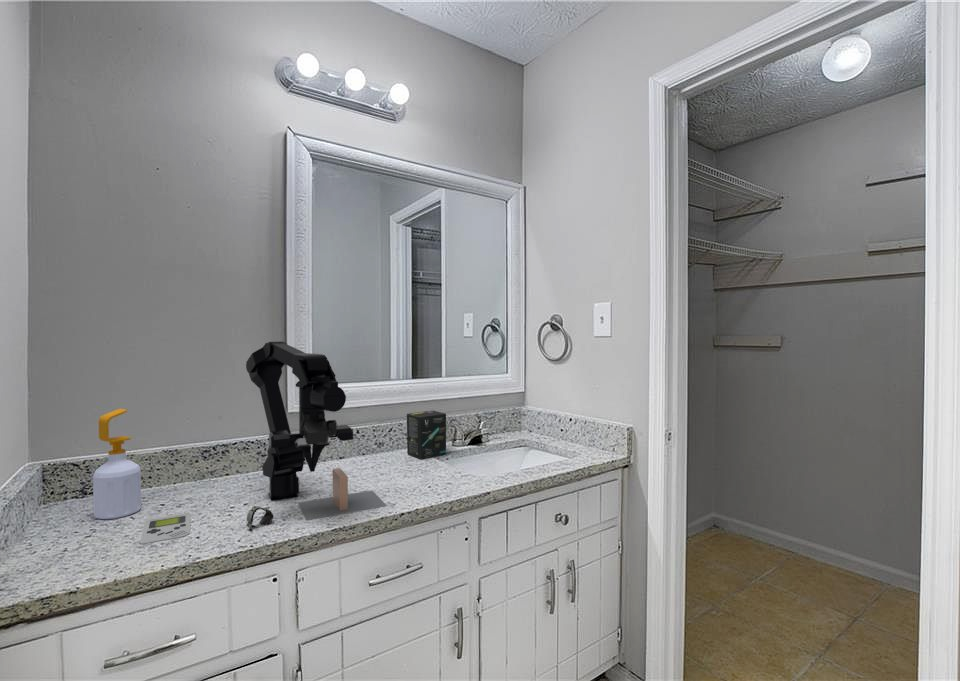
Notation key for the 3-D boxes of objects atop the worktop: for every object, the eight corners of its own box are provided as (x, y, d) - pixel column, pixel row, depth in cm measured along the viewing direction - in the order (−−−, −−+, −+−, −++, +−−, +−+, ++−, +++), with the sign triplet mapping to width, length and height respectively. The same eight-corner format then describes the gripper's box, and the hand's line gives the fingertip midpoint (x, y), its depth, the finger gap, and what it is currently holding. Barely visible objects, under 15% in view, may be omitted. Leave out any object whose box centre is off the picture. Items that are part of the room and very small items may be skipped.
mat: (306, 522, 111) (306, 520, 111) (297, 504, 122) (297, 502, 122) (387, 507, 120) (387, 505, 120) (372, 491, 131) (372, 490, 131)
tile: (339, 510, 117) (339, 477, 117) (332, 500, 124) (332, 468, 124) (348, 508, 118) (347, 476, 117) (340, 498, 125) (340, 467, 125)
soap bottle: (148, 510, 118) (147, 409, 117) (104, 522, 110) (102, 414, 110) (130, 503, 123) (128, 406, 122) (86, 515, 115) (84, 411, 114)
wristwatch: (262, 535, 107) (276, 513, 110) (244, 524, 104) (258, 502, 107) (256, 532, 109) (270, 511, 112) (238, 522, 106) (252, 501, 109)
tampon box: (432, 449, 178) (431, 409, 177) (447, 454, 171) (447, 413, 170) (406, 454, 171) (405, 413, 170) (420, 460, 164) (420, 416, 163)
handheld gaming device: (139, 543, 99) (145, 518, 112) (139, 546, 99) (145, 521, 112) (189, 534, 103) (190, 511, 116) (190, 537, 103) (190, 514, 116)
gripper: (273, 415, 105) (273, 486, 106) (359, 408, 114) (359, 474, 115) (268, 407, 115) (268, 473, 116) (347, 402, 124) (347, 463, 125)
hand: (312, 471), depth 117 cm, fingers closed
